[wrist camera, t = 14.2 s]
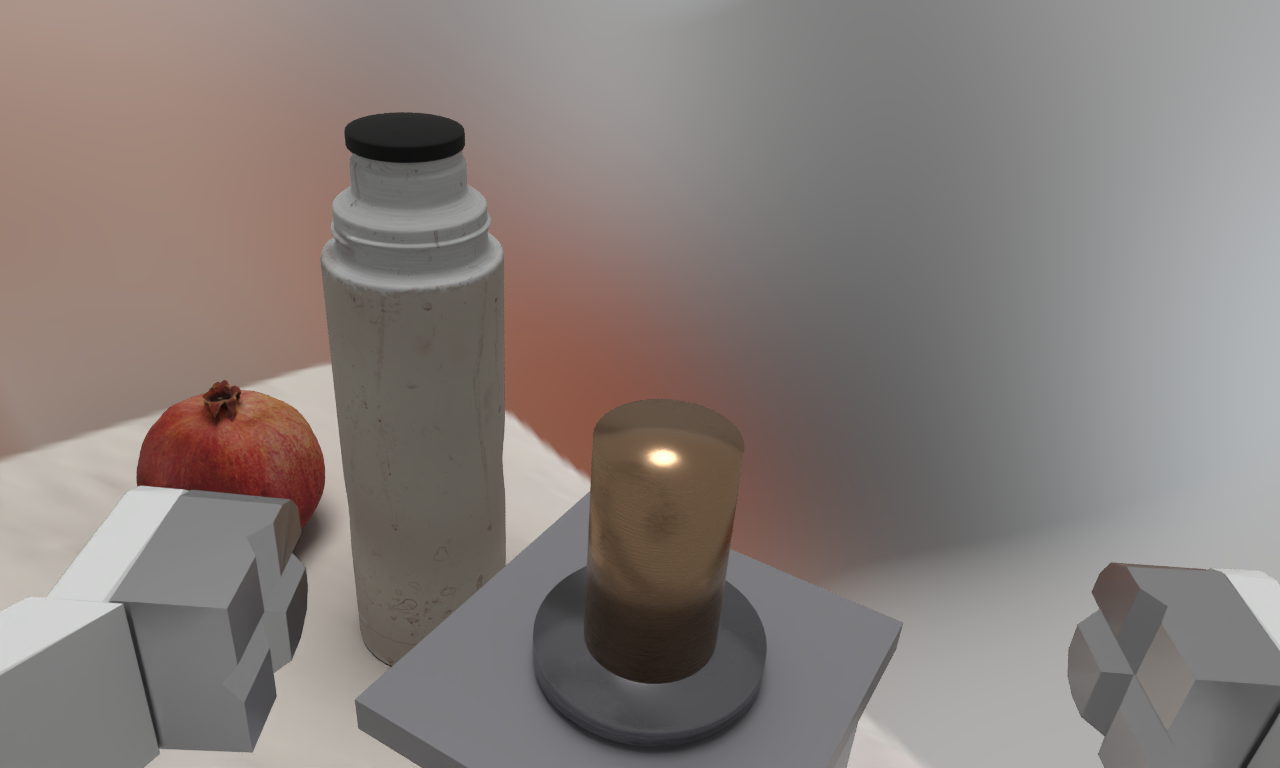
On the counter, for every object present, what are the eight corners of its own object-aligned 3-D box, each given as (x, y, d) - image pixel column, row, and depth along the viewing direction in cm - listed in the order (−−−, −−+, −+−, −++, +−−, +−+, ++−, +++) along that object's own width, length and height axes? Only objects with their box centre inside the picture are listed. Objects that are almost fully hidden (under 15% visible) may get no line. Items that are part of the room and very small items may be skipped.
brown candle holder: (681, 1087, 30) (760, 630, 20) (427, 911, 34) (393, 462, 24) (808, 838, 37) (910, 418, 28) (588, 719, 42) (610, 317, 32)
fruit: (133, 514, 62) (98, 375, 56) (290, 464, 67) (272, 333, 62) (186, 616, 55) (152, 467, 49) (357, 550, 60) (342, 411, 55)
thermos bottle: (477, 557, 60) (465, 92, 46) (527, 645, 54) (532, 143, 40) (344, 594, 57) (287, 104, 42) (383, 692, 51) (331, 162, 37)
